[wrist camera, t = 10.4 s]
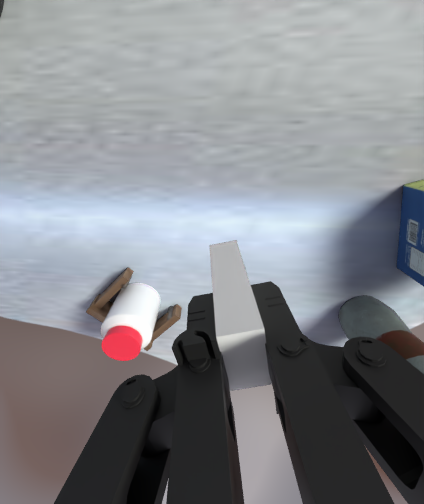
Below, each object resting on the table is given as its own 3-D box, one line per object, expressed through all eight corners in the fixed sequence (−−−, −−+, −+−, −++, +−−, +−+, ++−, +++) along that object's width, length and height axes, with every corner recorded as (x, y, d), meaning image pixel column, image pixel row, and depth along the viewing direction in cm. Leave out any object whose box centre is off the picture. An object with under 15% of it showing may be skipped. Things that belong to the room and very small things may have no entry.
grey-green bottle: (325, 322, 48) (480, 562, 21) (353, 286, 44) (582, 521, 17) (364, 334, 50) (552, 570, 23) (393, 300, 46) (659, 534, 19)
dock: (95, 297, 44) (85, 312, 40) (126, 266, 41) (119, 278, 38) (151, 334, 48) (147, 351, 45) (182, 308, 46) (181, 323, 42)
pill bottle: (119, 315, 46) (95, 364, 36) (116, 280, 43) (90, 325, 33) (160, 317, 46) (148, 367, 37) (161, 284, 43) (148, 328, 33)
